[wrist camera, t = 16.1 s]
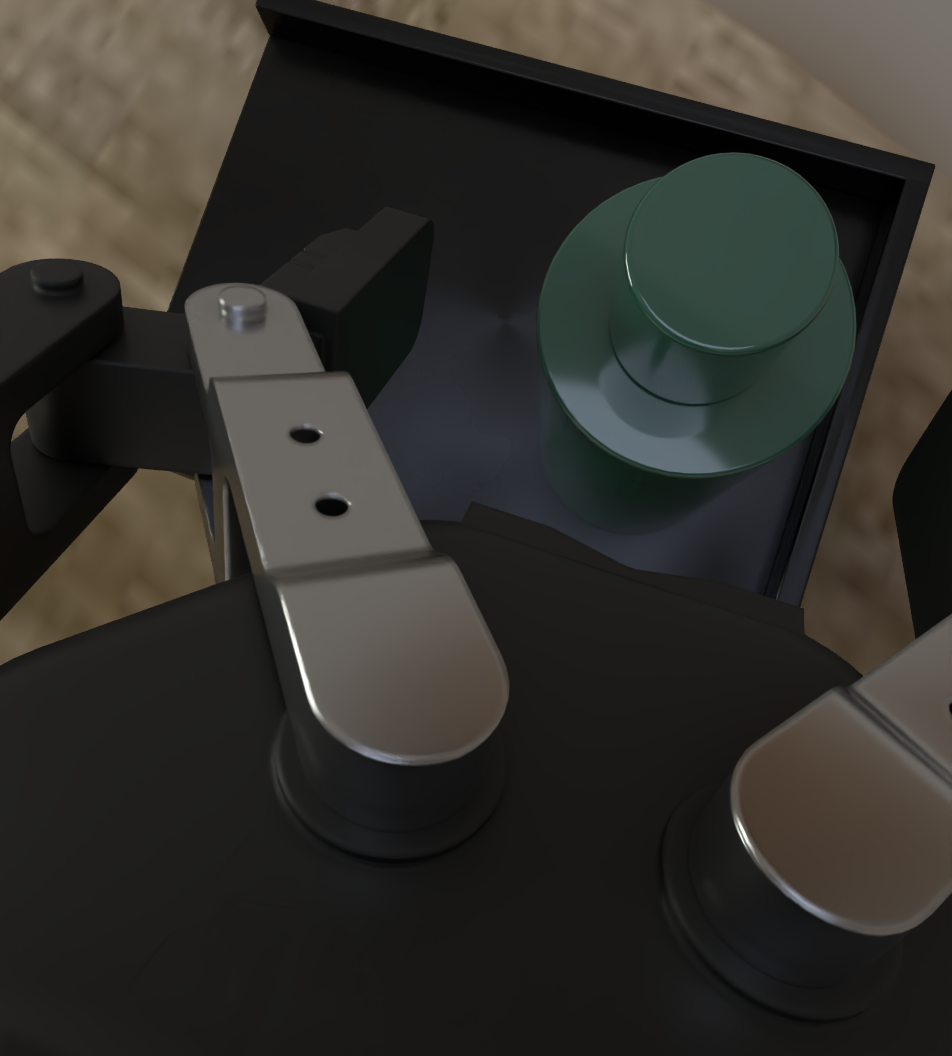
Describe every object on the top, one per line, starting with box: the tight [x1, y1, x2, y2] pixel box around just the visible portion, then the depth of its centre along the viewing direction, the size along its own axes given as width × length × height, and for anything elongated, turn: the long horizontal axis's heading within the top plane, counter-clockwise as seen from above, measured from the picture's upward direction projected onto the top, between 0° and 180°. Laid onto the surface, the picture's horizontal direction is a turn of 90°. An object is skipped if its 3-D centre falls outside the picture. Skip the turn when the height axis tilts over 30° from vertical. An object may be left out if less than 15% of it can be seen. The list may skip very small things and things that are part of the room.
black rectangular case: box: [167, 0, 935, 607], centre depth 25 cm, size 18×13×8 cm
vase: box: [536, 153, 856, 534], centre depth 16 cm, size 5×5×12 cm
